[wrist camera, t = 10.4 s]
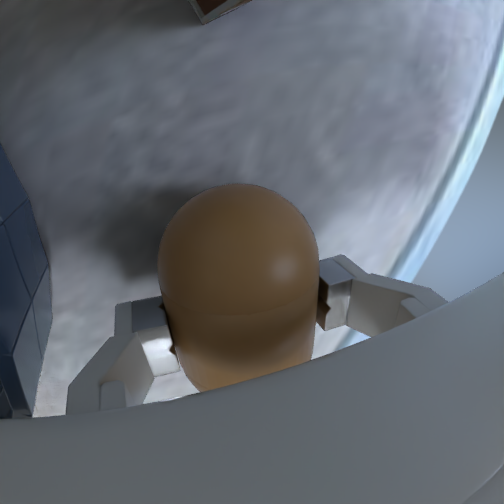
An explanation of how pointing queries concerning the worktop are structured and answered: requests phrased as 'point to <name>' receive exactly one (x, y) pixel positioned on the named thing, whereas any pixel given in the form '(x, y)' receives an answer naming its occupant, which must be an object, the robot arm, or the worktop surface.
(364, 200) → the worktop surface
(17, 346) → the bowl
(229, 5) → the cake slice
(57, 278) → the worktop surface
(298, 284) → the potato
